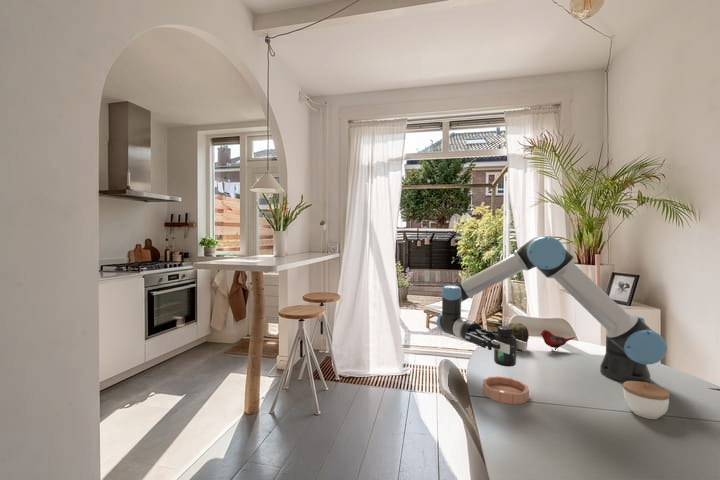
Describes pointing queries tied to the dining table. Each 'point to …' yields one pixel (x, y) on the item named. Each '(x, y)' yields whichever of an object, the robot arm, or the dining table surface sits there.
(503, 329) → the supplement bottle
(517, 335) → the brown rounded lump
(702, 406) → the dining table surface
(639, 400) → the lidded jar
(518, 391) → the terracotta dish
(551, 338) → the decorative bird figurine
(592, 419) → the dining table surface
